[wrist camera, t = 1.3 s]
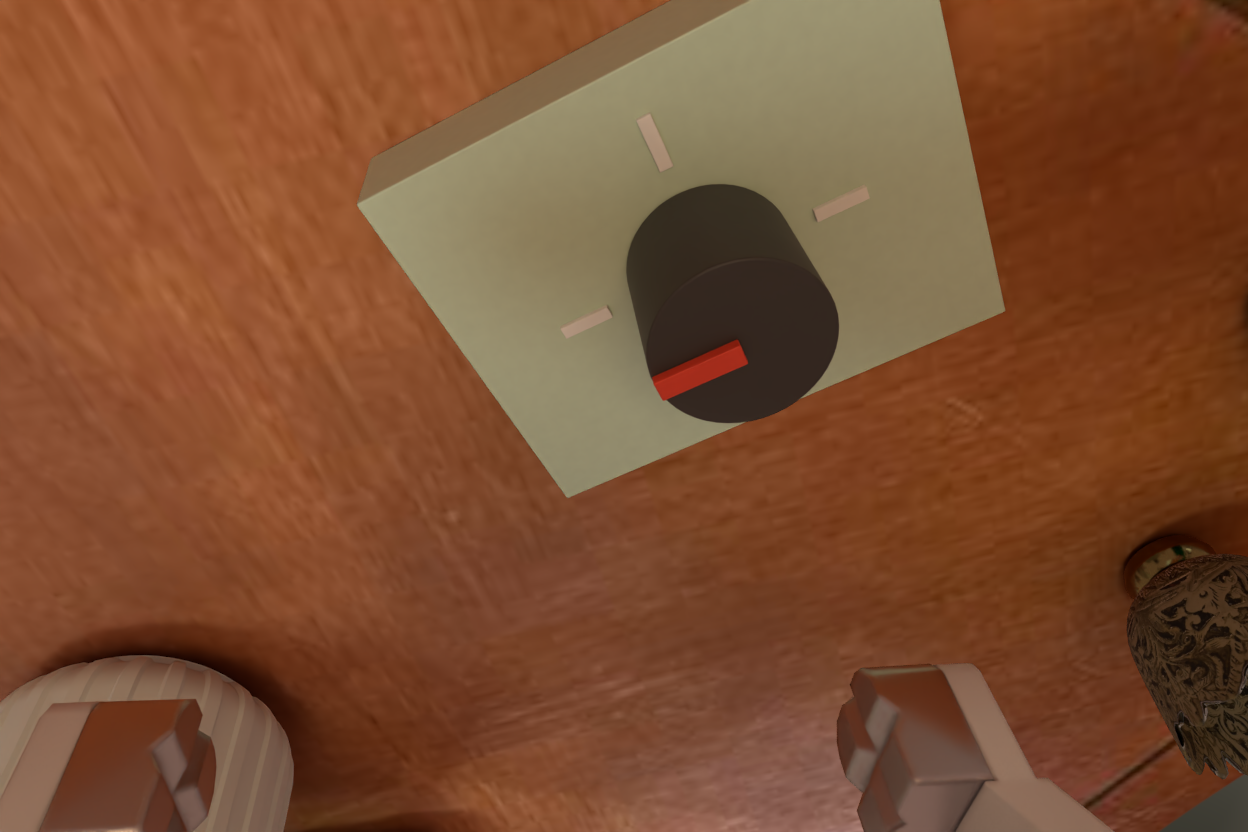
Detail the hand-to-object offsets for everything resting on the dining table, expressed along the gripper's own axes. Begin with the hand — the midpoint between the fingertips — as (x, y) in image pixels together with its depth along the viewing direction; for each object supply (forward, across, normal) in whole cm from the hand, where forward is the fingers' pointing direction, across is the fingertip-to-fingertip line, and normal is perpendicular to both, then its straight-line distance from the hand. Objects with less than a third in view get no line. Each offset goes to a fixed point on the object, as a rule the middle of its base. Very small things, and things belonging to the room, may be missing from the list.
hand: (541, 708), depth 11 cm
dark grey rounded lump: (+17, -27, +16) cm, 36 cm away
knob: (+13, -5, +1) cm, 14 cm away
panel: (+16, -5, +1) cm, 17 cm away
